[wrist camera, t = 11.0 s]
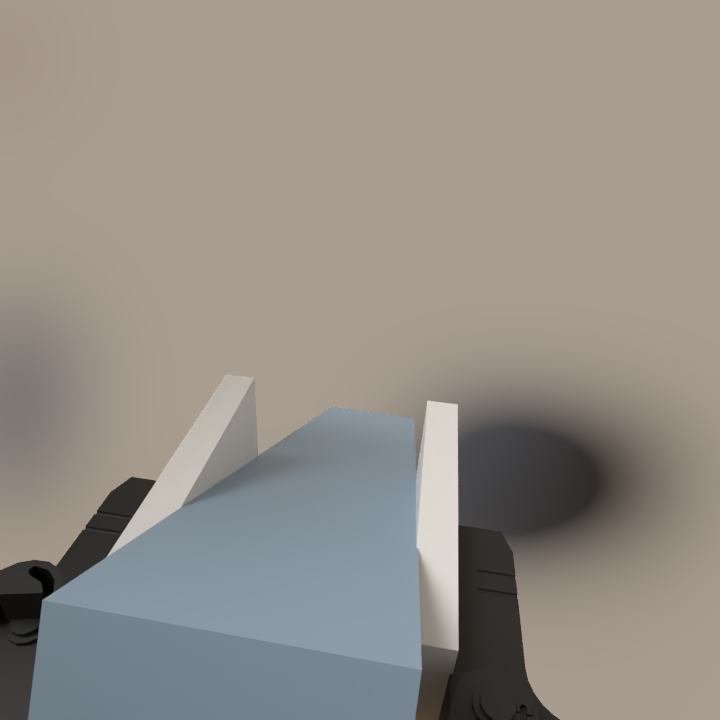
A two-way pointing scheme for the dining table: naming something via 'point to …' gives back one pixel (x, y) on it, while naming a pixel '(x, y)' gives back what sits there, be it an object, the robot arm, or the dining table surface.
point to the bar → (255, 594)
